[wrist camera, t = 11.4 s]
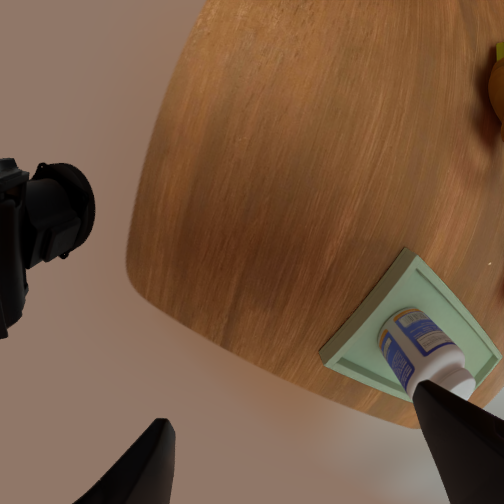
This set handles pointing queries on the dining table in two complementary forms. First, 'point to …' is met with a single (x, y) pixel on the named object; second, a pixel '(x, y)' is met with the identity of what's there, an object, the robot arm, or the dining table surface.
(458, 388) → the pill bottle
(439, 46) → the dining table surface
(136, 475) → the robot arm
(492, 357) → the tray
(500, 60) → the plumb bob
